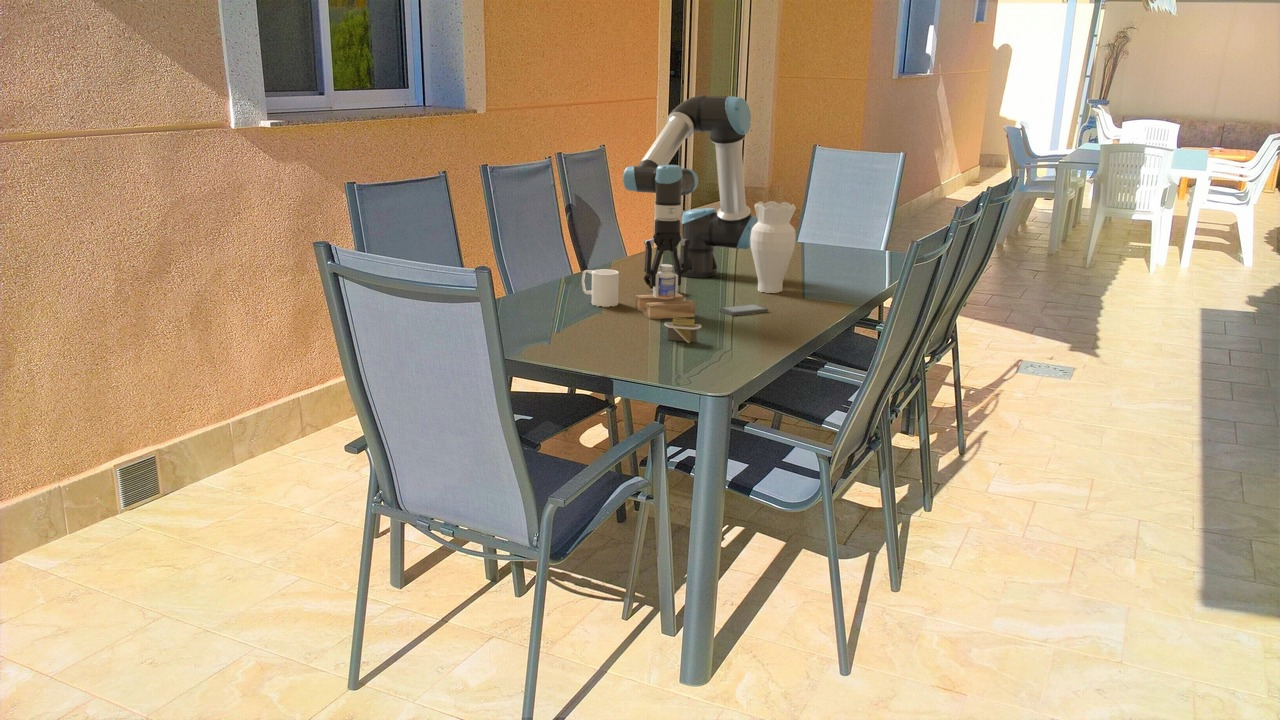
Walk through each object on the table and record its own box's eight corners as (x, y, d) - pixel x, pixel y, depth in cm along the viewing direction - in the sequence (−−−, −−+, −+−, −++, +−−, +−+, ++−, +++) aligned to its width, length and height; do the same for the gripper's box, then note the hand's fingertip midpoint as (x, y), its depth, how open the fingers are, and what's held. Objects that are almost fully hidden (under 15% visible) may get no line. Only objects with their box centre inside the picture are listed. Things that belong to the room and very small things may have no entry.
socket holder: (635, 308, 308) (635, 295, 307) (678, 306, 312) (679, 293, 311) (649, 319, 295) (650, 305, 294) (694, 316, 299) (695, 303, 298)
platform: (711, 351, 265) (712, 327, 263) (644, 346, 268) (644, 322, 266) (717, 340, 276) (718, 316, 274) (653, 335, 280) (653, 311, 278)
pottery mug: (680, 291, 335) (683, 273, 329) (670, 309, 328) (673, 290, 322) (646, 279, 337) (649, 261, 331) (636, 296, 330) (639, 278, 324)
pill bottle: (655, 295, 305) (656, 263, 302) (673, 295, 305) (674, 263, 302) (656, 299, 299) (657, 266, 297) (674, 299, 300) (675, 267, 297)
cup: (586, 298, 319) (587, 267, 316) (622, 302, 315) (622, 270, 312) (576, 303, 312) (576, 271, 309) (611, 308, 308) (612, 275, 305)
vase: (742, 293, 331) (747, 204, 323) (753, 285, 345) (758, 199, 336) (786, 297, 327) (792, 207, 318) (796, 289, 340) (802, 202, 332)
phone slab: (719, 310, 307) (719, 307, 307) (755, 307, 313) (755, 303, 312) (731, 316, 301) (732, 312, 301) (768, 312, 307) (768, 308, 306)
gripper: (641, 221, 289) (639, 300, 296) (701, 220, 295) (698, 297, 301) (633, 217, 296) (632, 295, 303) (692, 216, 302) (689, 292, 308)
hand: (665, 296), depth 302 cm, fingers closed on pill bottle, 5 cm apart
